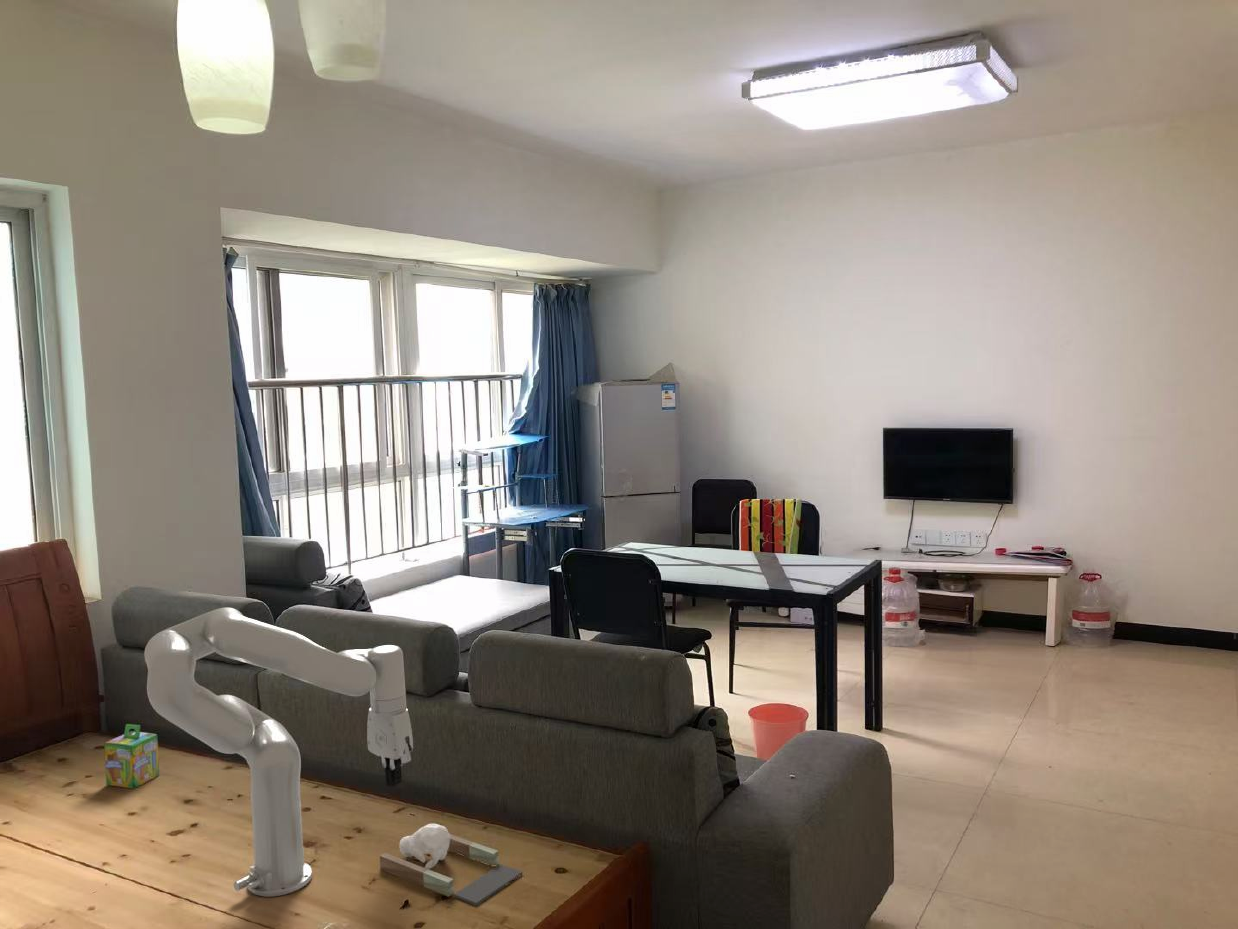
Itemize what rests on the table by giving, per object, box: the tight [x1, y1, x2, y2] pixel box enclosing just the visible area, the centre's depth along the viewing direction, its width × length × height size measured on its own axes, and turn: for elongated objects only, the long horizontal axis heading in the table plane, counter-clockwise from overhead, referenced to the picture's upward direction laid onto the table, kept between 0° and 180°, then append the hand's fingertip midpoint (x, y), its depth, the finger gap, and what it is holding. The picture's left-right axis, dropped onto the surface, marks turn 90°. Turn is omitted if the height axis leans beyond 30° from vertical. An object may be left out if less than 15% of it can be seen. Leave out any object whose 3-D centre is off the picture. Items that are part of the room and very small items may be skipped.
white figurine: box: [398, 823, 451, 870], centre depth 204 cm, size 6×8×12 cm
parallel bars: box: [379, 833, 500, 897], centre depth 202 cm, size 15×20×3 cm
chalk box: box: [104, 723, 160, 790], centre depth 249 cm, size 9×9×15 cm
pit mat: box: [453, 863, 523, 907], centre depth 194 cm, size 14×6×1 cm, turn 146°
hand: (394, 783), depth 209 cm, fingers closed
